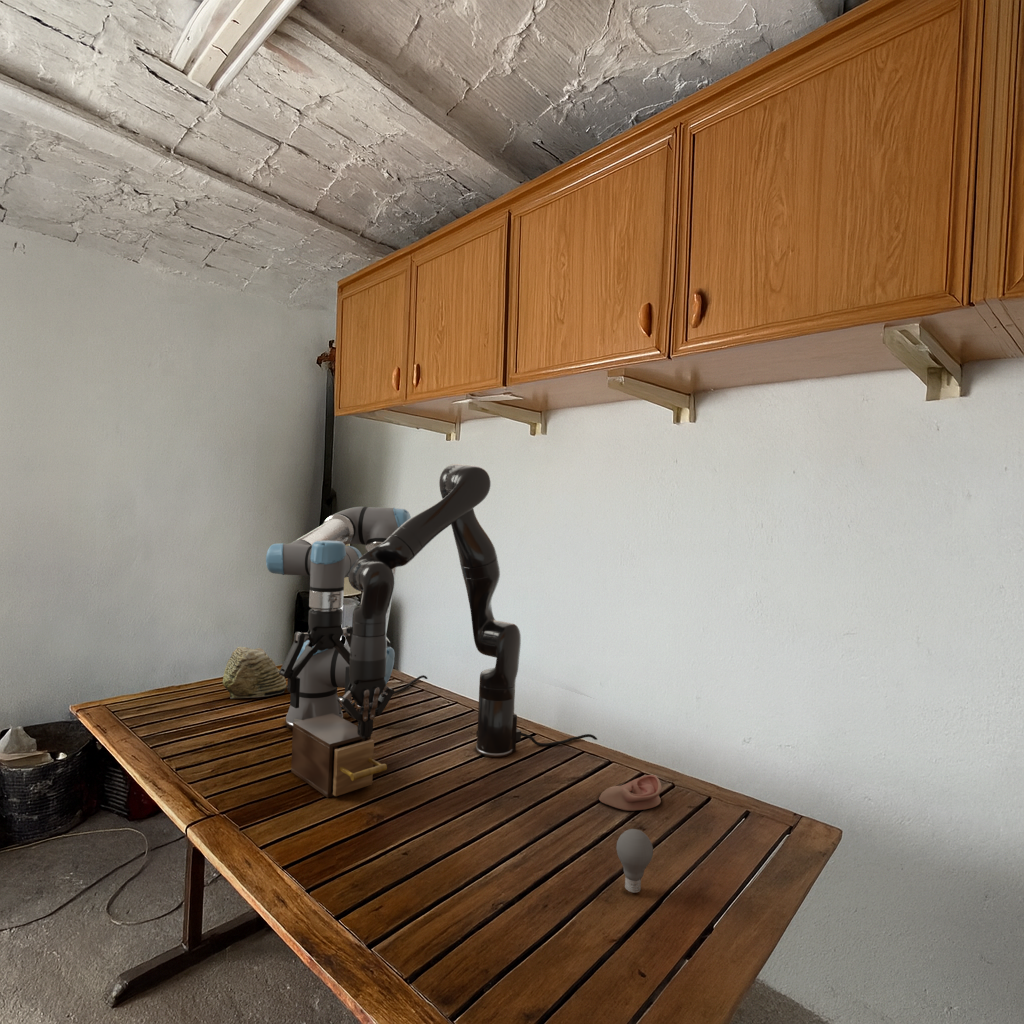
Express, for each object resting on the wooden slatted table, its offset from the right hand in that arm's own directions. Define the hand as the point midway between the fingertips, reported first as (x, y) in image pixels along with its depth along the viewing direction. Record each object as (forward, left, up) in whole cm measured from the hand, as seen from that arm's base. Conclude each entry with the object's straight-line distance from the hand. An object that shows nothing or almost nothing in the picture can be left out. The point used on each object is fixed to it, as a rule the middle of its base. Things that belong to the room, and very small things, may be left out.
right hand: (365, 736), depth 133 cm
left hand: (+6, -17, +3) cm, 18 cm away
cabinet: (+4, -13, -13) cm, 19 cm away
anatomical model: (-53, +22, -13) cm, 59 cm away
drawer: (+2, -8, -13) cm, 15 cm away
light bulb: (-33, +49, -13) cm, 60 cm away
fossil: (+13, -80, -13) cm, 82 cm away
